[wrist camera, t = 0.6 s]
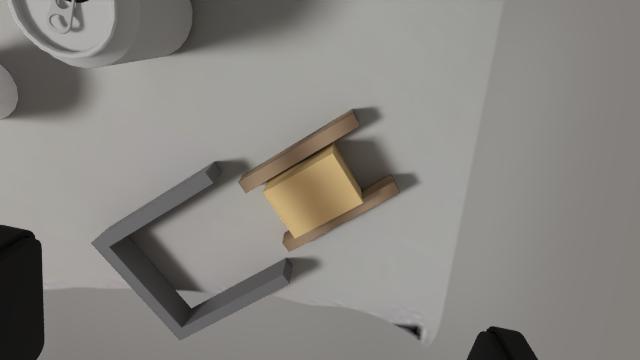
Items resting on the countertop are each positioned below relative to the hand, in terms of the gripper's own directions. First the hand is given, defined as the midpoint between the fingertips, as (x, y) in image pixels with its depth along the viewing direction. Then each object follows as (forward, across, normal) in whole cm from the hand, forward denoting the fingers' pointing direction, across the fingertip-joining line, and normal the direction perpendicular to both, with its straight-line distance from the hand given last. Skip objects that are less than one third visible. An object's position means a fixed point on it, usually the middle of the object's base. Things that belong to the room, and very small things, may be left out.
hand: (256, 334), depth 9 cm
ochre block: (+29, -2, +7) cm, 30 cm away
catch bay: (+29, +8, +17) cm, 34 cm away
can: (+29, +15, -4) cm, 33 cm away
